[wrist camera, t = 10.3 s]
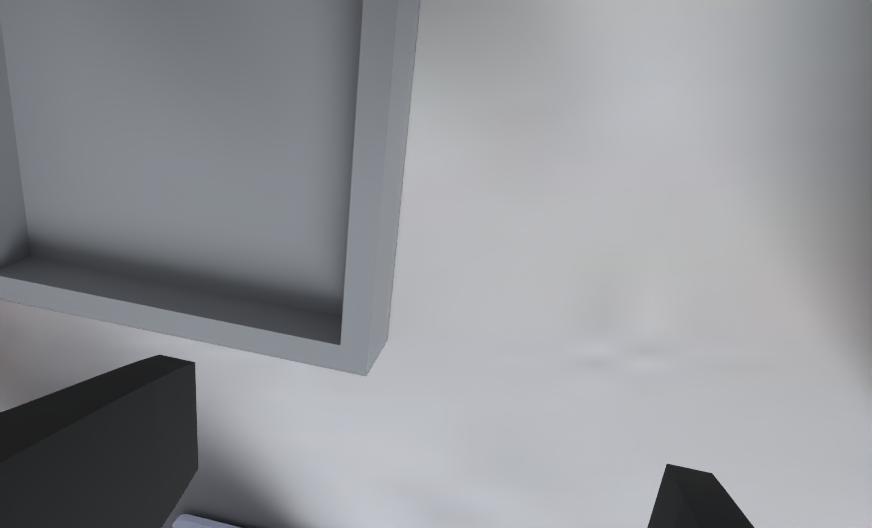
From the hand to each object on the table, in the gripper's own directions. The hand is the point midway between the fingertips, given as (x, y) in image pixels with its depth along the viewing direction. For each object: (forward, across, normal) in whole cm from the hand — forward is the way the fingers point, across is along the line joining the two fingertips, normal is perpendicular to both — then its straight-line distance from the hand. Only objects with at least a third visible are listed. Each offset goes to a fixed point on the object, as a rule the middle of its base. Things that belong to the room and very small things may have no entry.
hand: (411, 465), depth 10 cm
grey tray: (+9, +9, -3) cm, 13 cm away
